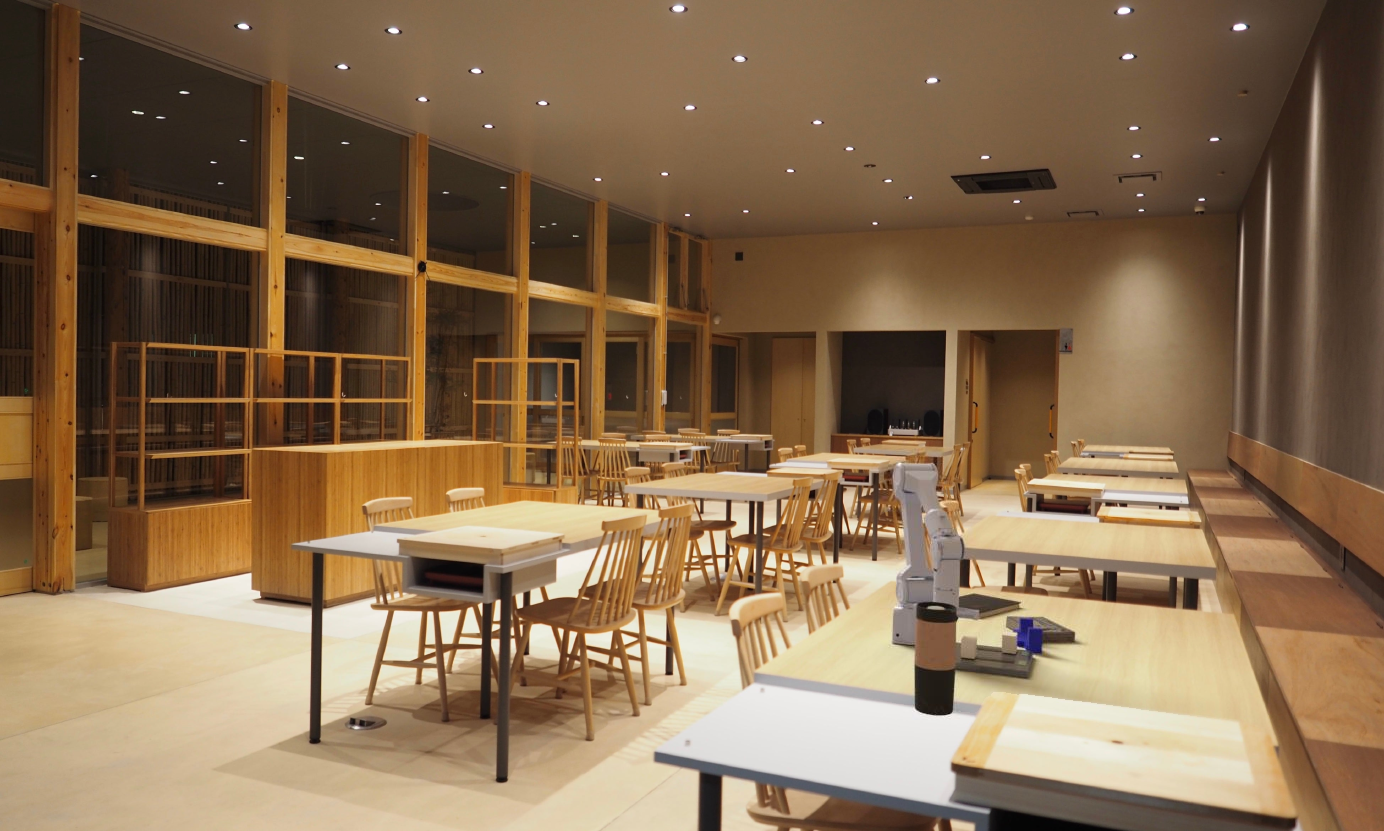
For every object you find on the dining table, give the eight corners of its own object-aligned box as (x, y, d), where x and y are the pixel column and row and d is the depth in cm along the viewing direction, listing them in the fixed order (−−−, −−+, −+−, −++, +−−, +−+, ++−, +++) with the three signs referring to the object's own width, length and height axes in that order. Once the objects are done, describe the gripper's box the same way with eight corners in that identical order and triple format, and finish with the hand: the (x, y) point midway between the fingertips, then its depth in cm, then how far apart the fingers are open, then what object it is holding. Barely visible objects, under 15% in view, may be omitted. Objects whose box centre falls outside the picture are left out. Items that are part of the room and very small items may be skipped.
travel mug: (908, 703, 189) (910, 601, 189) (946, 703, 190) (948, 601, 190) (920, 716, 182) (923, 610, 181) (960, 716, 182) (963, 610, 182)
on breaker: (1001, 652, 223) (1002, 635, 223) (1003, 648, 227) (1003, 631, 227) (1015, 653, 222) (1015, 636, 222) (1016, 649, 226) (1017, 632, 226)
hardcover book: (1020, 609, 282) (1021, 602, 282) (978, 620, 266) (978, 612, 266) (971, 600, 293) (972, 592, 293) (928, 610, 278) (928, 602, 278)
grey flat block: (1042, 627, 259) (1042, 616, 259) (1076, 644, 242) (1076, 631, 242) (1004, 627, 257) (1004, 615, 257) (1035, 643, 240) (1036, 631, 240)
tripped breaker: (960, 657, 218) (961, 639, 218) (963, 653, 222) (963, 635, 222) (974, 658, 217) (974, 641, 217) (976, 654, 221) (977, 637, 221)
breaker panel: (941, 667, 216) (942, 660, 215) (953, 648, 233) (953, 641, 233) (1027, 678, 209) (1027, 670, 208) (1032, 657, 226) (1033, 650, 226)
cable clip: (1012, 641, 242) (1013, 617, 242) (1031, 642, 242) (1032, 618, 241) (1021, 653, 230) (1022, 628, 230) (1041, 654, 230) (1042, 629, 230)
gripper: (911, 588, 221) (909, 648, 221) (976, 594, 215) (975, 655, 215) (916, 583, 227) (915, 641, 227) (980, 589, 221) (979, 648, 222)
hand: (944, 647), depth 222 cm, fingers closed
